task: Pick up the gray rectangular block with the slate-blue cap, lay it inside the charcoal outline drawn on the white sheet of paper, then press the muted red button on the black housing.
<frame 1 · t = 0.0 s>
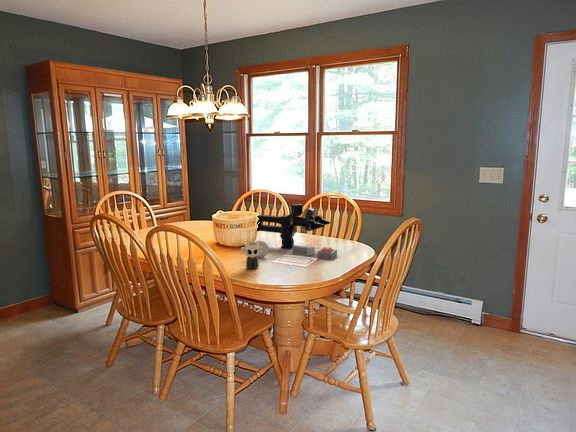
hand: (327, 224, 243), 17 cm above the table, tool horizontal, fingers open, 9 cm apart
gray rectangular block: (303, 253, 244), on the table
paper sheet: (295, 260, 230), on the table
button housing: (327, 256, 237), on the table
donut: (259, 258, 235), on the table
big-eyed character figurine: (252, 268, 217), on the table
done button: (327, 251, 236), point 3 cm above the table, slide at 0.0 cm
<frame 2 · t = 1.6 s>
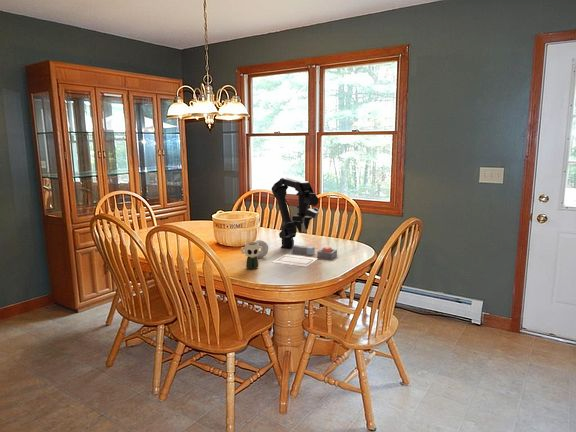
hand: (303, 231, 242), 13 cm above the table, tool pointing down, fingers open, 9 cm apart
nothing on the table moved.
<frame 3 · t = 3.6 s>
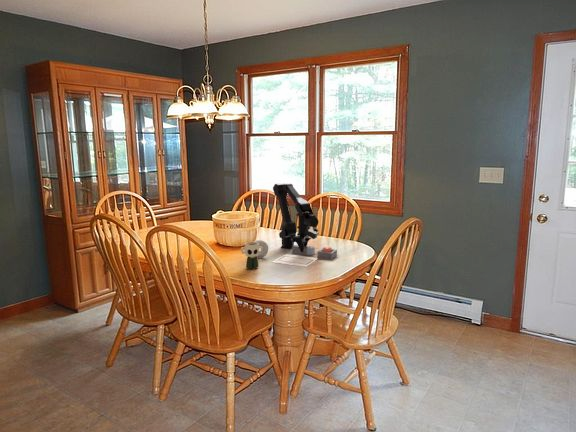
hand: (303, 251, 244), 1 cm above the table, tool pointing down, fingers closed on gray rectangular block, 3 cm apart
gray rectangular block: (303, 253, 244), on the table, touching gripper
everything else where it was.
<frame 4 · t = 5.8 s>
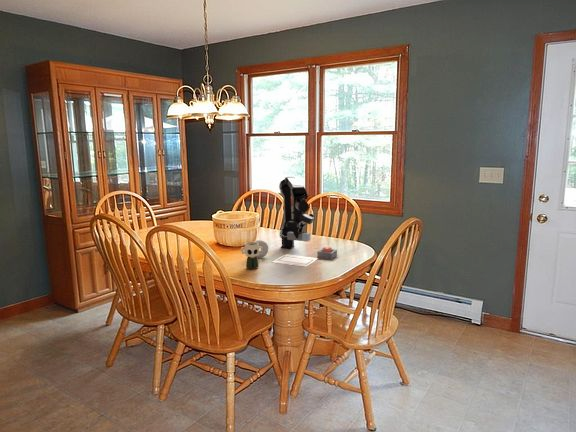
hand: (298, 237, 232), 12 cm above the table, tool pointing down, fingers closed on gray rectangular block, 3 cm apart
gray rectangular block: (298, 239, 232), point 10 cm above the table, touching gripper
everything else where it was.
when the fingers open (3 cm above the table, at t = 8.1 s): gray rectangular block drops 1 cm, resting on paper sheet.
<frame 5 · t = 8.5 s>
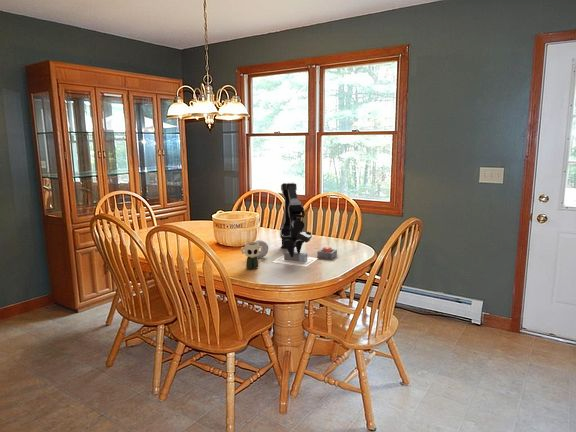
hand: (295, 255, 230), 3 cm above the table, tool pointing down, fingers open, 8 cm apart
gray rectangular block: (295, 260, 230), resting on paper sheet
everything else where it was.
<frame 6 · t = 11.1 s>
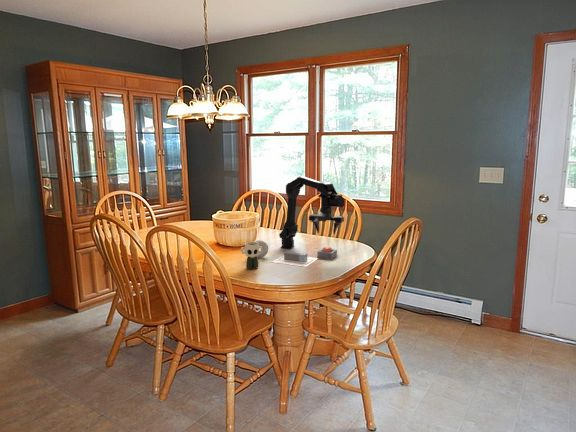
hand: (326, 233, 234), 13 cm above the table, tool pointing down, fingers open, 9 cm apart
nothing on the table moved.
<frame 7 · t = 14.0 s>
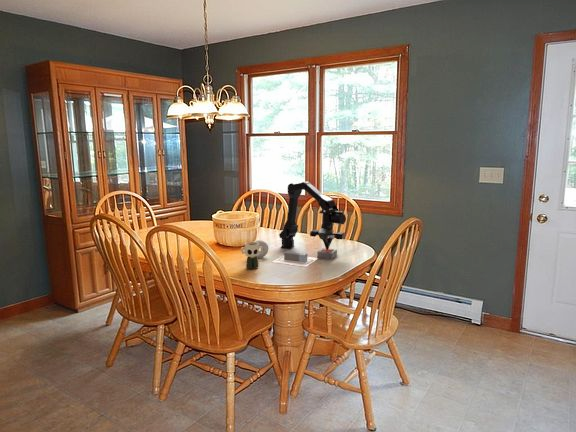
hand: (327, 249, 236), 4 cm above the table, tool pointing down, fingers closed, pressing on done button
done button: (327, 252, 237), point 2 cm above the table, slide at 0.9 cm, touching gripper
everything else where it was.
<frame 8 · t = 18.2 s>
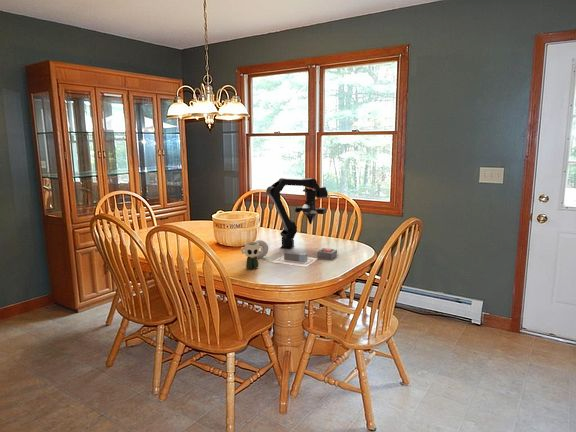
hand: (310, 224, 261), 13 cm above the table, tool pointing down, fingers closed
done button: (327, 253, 237), point 2 cm above the table, slide at 1.1 cm
everything else where it was.
at the end: gray rectangular block 0.0 cm off-centre on the paper sheet, point 0.1 cm above the paper sheet's base; the gripper is holding nothing; done button slide at 1.1 cm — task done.
